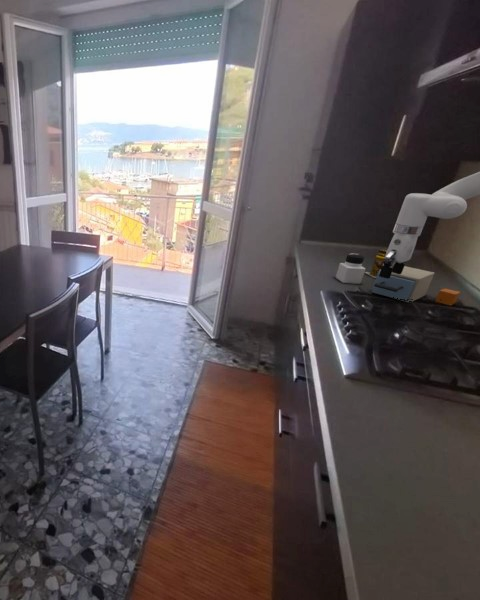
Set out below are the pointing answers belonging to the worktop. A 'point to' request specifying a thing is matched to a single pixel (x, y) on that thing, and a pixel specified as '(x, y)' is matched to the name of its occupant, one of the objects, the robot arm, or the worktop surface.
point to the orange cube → (447, 296)
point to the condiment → (377, 263)
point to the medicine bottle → (351, 269)
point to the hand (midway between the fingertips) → (389, 275)
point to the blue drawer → (394, 286)
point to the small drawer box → (421, 282)
